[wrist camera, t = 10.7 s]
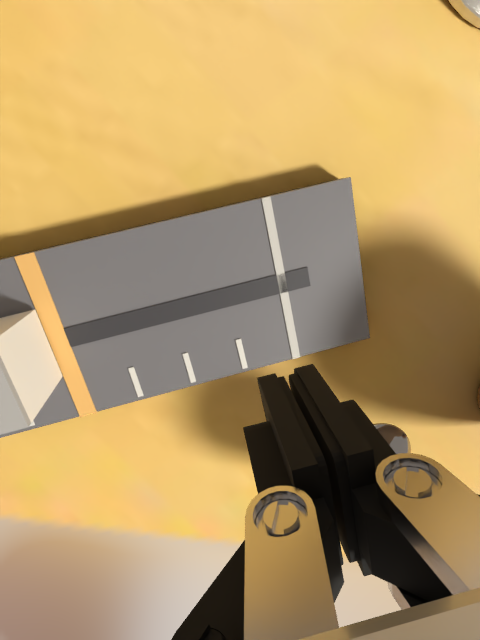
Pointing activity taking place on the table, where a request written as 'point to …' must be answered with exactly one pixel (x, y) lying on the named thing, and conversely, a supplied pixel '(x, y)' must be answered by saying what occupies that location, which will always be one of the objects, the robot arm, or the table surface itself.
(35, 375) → the fader tab
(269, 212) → the console
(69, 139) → the table surface
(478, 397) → the plant pot
